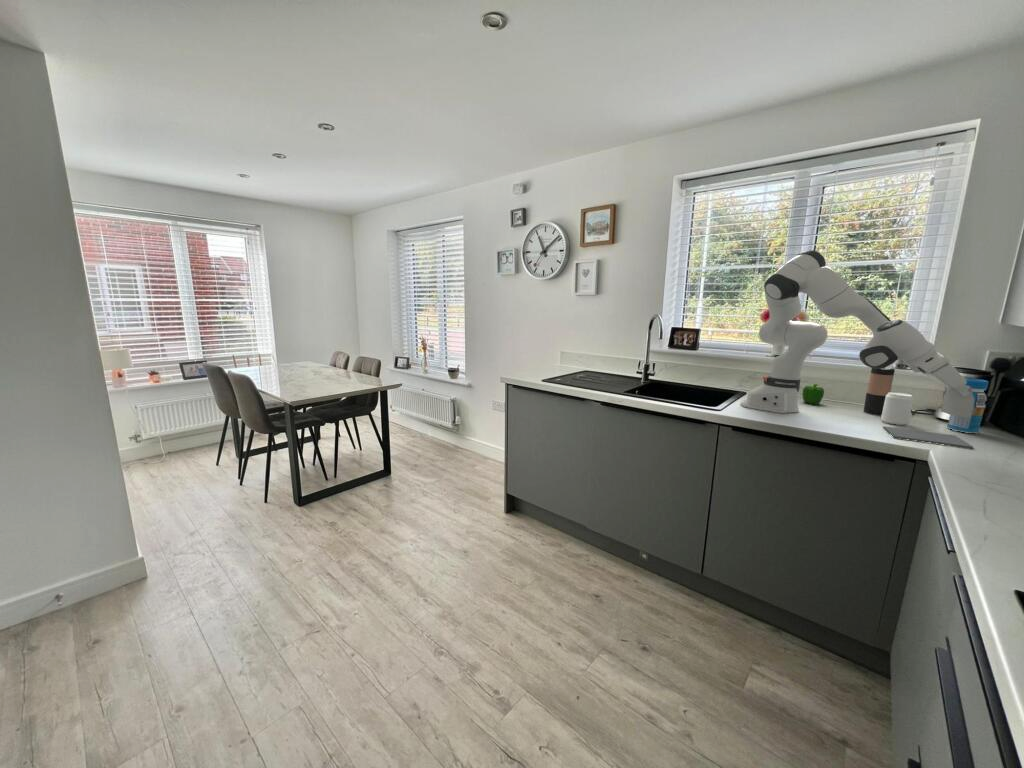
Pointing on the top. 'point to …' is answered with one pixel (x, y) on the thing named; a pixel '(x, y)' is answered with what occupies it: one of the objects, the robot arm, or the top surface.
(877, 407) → the travel mug
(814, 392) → the bell pepper
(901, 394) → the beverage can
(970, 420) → the beverage bottle
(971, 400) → the grey block
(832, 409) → the top surface
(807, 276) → the robot arm
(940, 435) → the charcoal mat
